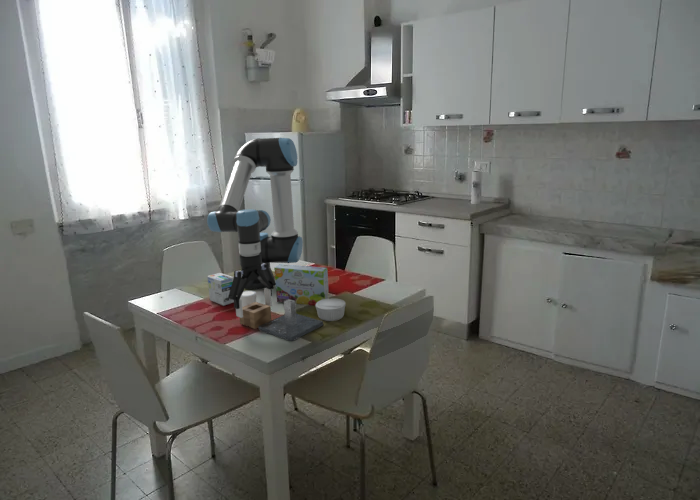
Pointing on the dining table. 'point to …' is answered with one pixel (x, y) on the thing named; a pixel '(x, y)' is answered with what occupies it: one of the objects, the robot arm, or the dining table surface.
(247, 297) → the white tapered pot
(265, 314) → the walnut collar
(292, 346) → the dining table surface
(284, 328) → the shaft plate
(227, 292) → the light bulb box
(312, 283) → the snack box
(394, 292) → the dining table surface
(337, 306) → the ramekin
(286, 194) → the robot arm
